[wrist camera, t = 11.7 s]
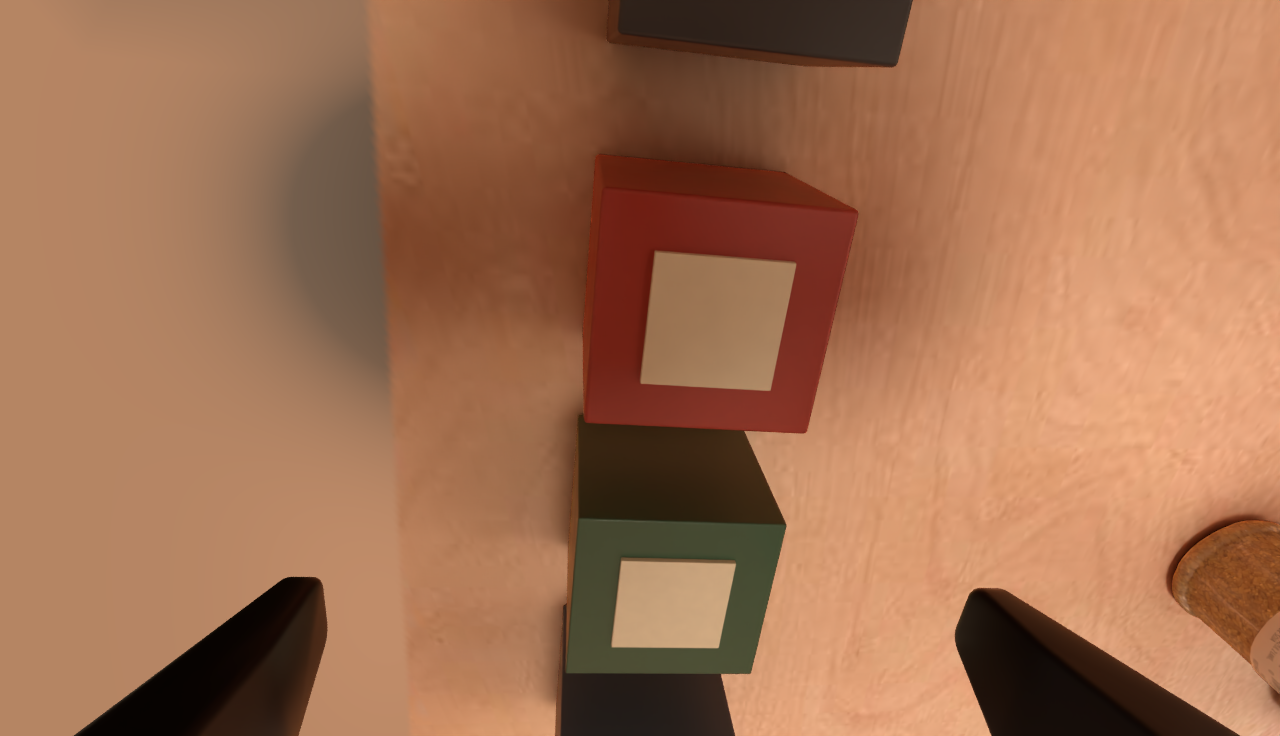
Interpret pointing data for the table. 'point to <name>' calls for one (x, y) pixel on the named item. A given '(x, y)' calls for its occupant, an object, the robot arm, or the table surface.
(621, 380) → the red cube
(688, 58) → the table surface
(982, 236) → the table surface
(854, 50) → the charcoal block
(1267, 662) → the sprinkles bottle
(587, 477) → the green block
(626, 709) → the slate block
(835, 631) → the table surface
